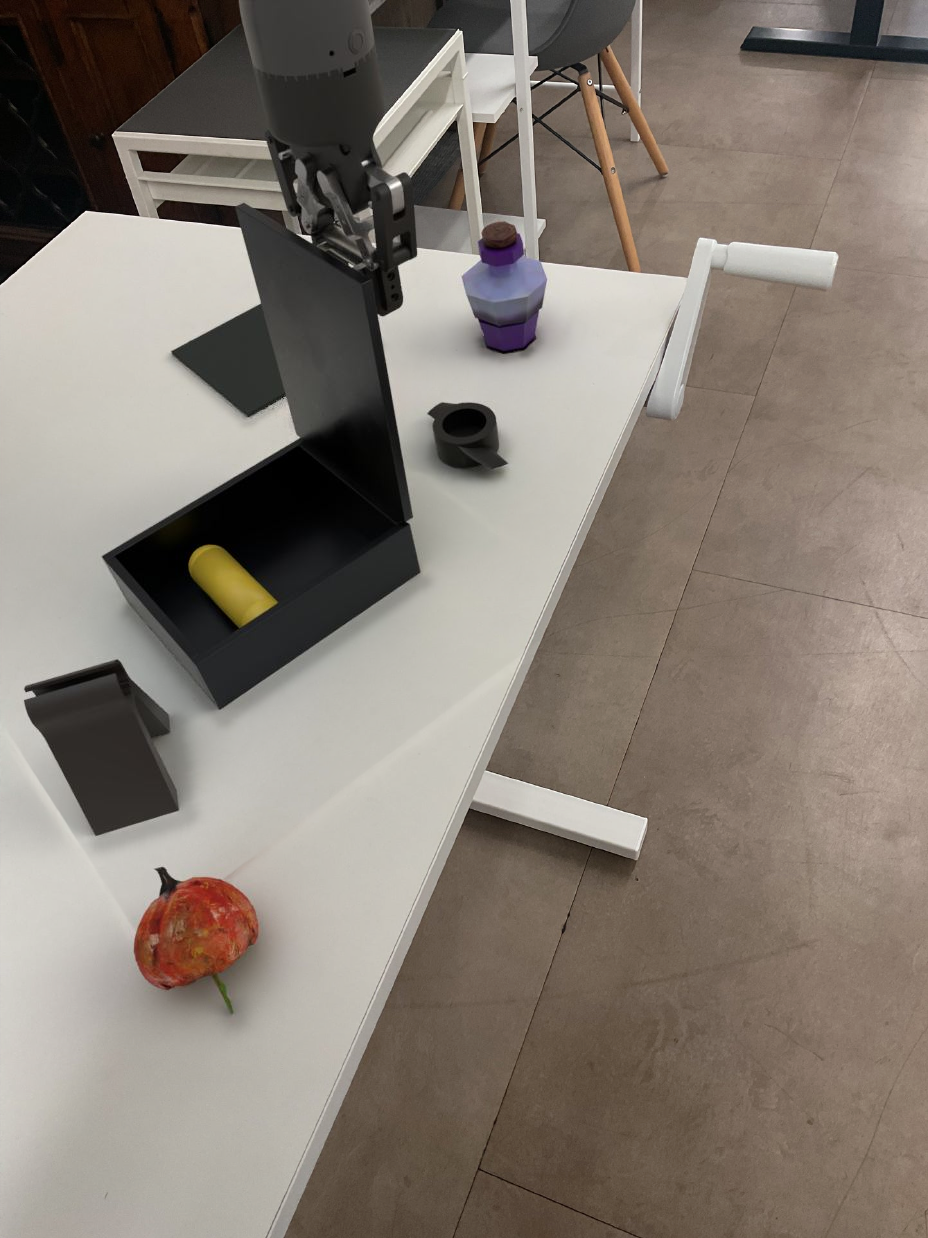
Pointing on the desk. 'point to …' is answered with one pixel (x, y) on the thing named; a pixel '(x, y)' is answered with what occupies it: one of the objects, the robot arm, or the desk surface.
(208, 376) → the mat
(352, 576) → the black open box
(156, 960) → the painted toy pumpkin
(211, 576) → the yellow capsule
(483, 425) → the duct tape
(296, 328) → the lid
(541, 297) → the potion bottle
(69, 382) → the desk surface
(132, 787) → the phone stand
